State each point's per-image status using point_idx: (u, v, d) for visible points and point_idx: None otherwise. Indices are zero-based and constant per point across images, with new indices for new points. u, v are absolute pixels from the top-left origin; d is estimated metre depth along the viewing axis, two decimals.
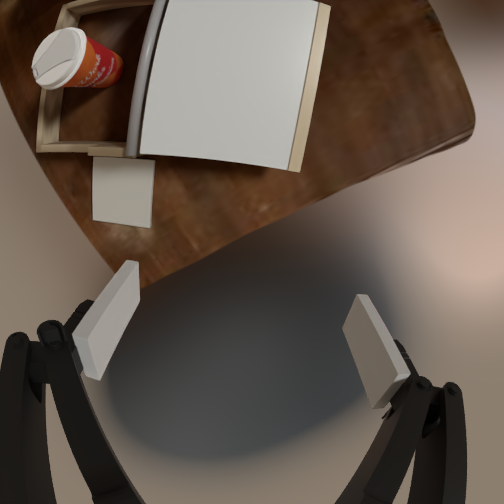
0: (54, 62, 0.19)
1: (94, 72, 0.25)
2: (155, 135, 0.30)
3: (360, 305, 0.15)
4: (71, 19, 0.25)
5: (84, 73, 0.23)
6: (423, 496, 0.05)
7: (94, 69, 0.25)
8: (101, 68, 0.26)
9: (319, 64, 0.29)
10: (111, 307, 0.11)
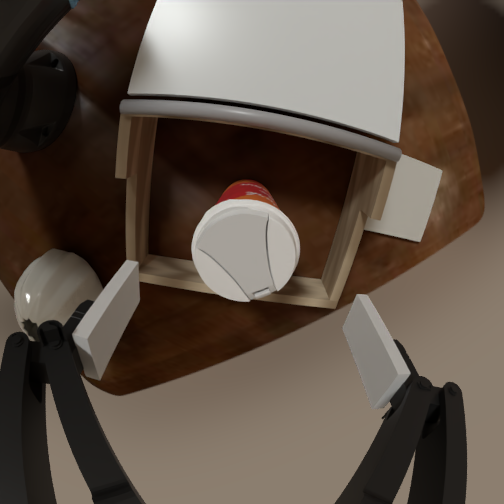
0: (259, 254, 0.20)
1: (271, 200, 0.24)
2: (379, 117, 0.21)
3: (360, 305, 0.15)
4: (152, 264, 0.34)
5: None
6: (423, 496, 0.05)
7: (268, 199, 0.24)
8: (263, 193, 0.25)
9: None
10: (111, 307, 0.11)
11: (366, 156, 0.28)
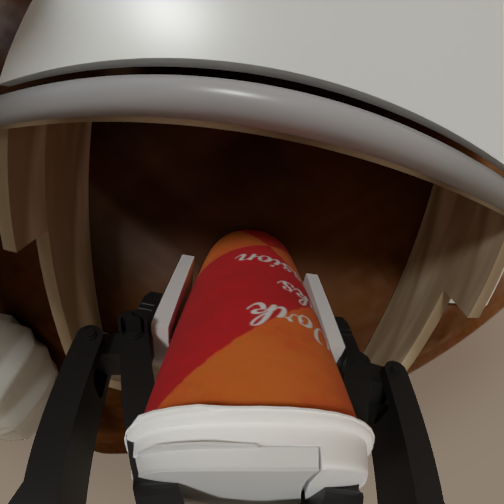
0: (283, 497, 0.06)
1: (308, 318, 0.10)
2: None
3: (308, 283, 0.16)
4: None
5: (329, 363, 0.08)
6: (392, 484, 0.06)
7: (302, 321, 0.10)
8: (287, 293, 0.11)
9: None
10: (180, 297, 0.13)
11: (458, 196, 0.14)
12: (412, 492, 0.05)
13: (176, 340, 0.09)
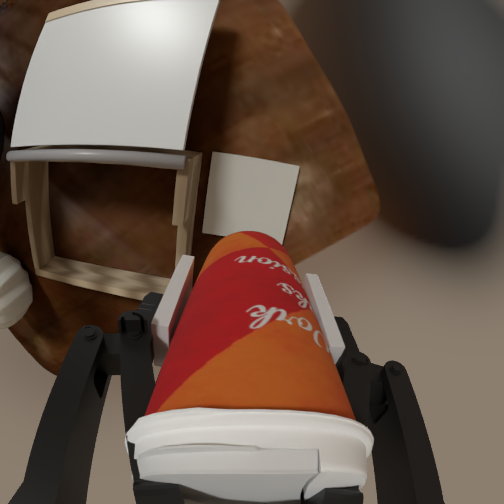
0: (283, 498, 0.06)
1: (307, 320, 0.10)
2: (163, 131, 0.25)
3: (308, 283, 0.16)
4: (53, 264, 0.38)
5: (328, 366, 0.08)
6: (391, 484, 0.06)
7: (302, 323, 0.10)
8: (287, 295, 0.11)
9: None
10: (180, 298, 0.13)
11: None
12: (412, 492, 0.05)
13: (176, 342, 0.09)
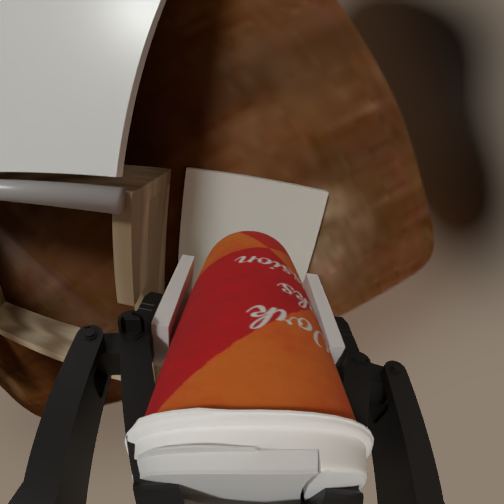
0: (283, 498, 0.06)
1: (307, 320, 0.10)
2: (82, 141, 0.12)
3: (307, 283, 0.16)
4: (2, 313, 0.24)
5: (328, 366, 0.08)
6: (391, 484, 0.06)
7: (302, 323, 0.10)
8: (287, 295, 0.11)
9: None
10: (180, 298, 0.13)
11: None
12: (412, 492, 0.05)
13: (176, 343, 0.09)
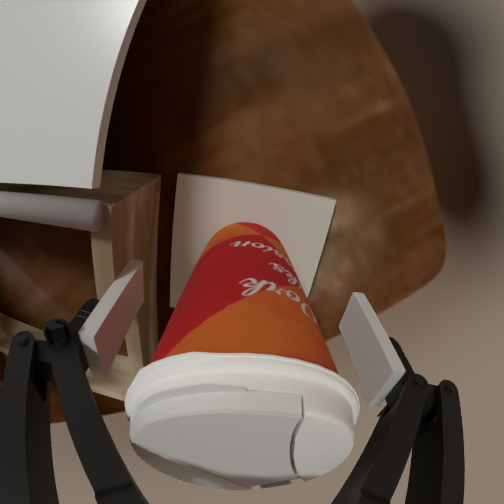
0: (273, 459, 0.07)
1: (296, 294, 0.11)
2: (55, 147, 0.09)
3: (356, 303, 0.15)
4: None
5: (314, 332, 0.10)
6: (421, 495, 0.05)
7: (290, 295, 0.11)
8: (277, 272, 0.12)
9: None
10: (117, 306, 0.12)
11: None
12: (437, 503, 0.04)
13: (176, 313, 0.11)
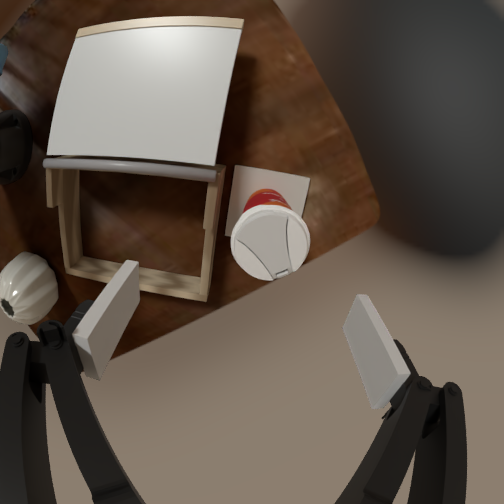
0: (281, 244, 0.27)
1: (288, 205, 0.32)
2: (196, 148, 0.30)
3: (360, 305, 0.15)
4: (82, 263, 0.43)
5: None
6: (423, 496, 0.05)
7: (286, 204, 0.32)
8: (281, 200, 0.33)
9: (134, 20, 0.25)
10: (111, 307, 0.11)
11: None
12: None
13: (246, 210, 0.31)
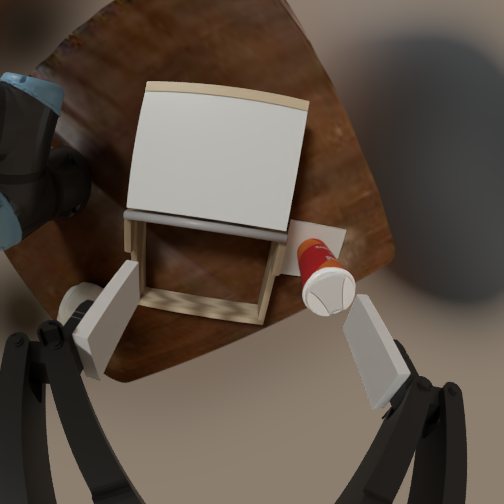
0: (338, 293, 0.39)
1: (337, 260, 0.43)
2: (272, 217, 0.41)
3: (360, 305, 0.15)
4: (148, 294, 0.54)
5: (343, 268, 0.42)
6: (423, 496, 0.05)
7: (336, 260, 0.43)
8: (332, 255, 0.44)
9: (209, 85, 0.36)
10: (111, 307, 0.11)
11: None
12: None
13: (309, 265, 0.43)
